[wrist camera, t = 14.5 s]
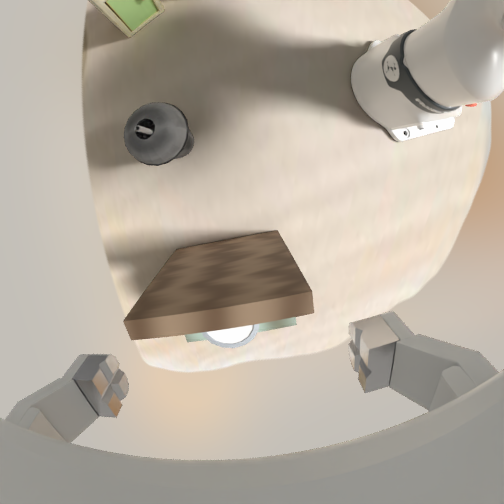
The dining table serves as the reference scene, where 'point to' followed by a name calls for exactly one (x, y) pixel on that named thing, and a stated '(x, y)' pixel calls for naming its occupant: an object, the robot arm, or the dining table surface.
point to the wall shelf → (222, 290)
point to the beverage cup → (158, 134)
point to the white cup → (232, 336)
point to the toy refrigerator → (129, 13)
